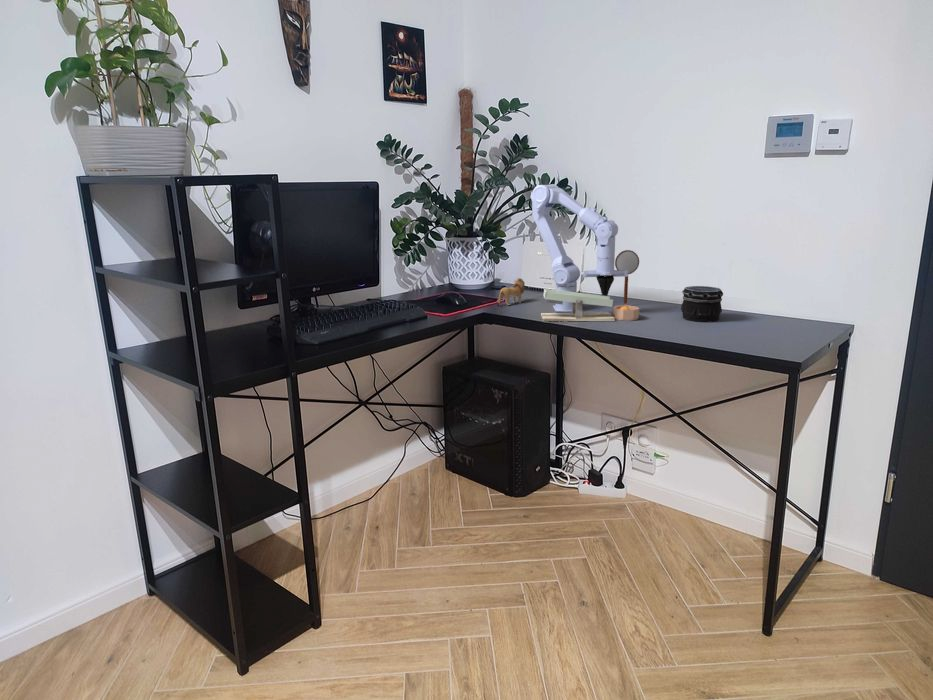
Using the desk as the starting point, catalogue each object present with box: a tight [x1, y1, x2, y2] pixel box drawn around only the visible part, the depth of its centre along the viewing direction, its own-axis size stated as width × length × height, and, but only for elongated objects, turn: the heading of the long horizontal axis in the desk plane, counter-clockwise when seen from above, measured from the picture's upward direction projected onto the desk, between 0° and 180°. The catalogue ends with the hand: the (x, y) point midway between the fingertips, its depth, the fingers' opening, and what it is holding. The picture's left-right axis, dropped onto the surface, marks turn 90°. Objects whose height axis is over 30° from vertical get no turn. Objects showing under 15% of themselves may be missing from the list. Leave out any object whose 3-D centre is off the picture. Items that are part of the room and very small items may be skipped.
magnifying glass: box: [614, 249, 640, 305], centre depth 236 cm, size 9×2×20 cm, turn 93°
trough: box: [542, 288, 614, 308], centre depth 221 cm, size 12×23×4 cm, turn 88°
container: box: [680, 285, 724, 323], centre depth 215 cm, size 13×13×10 cm
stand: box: [540, 300, 616, 323], centre depth 218 cm, size 11×23×7 cm, turn 88°
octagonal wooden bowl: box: [612, 304, 640, 322], centre depth 218 cm, size 8×8×4 cm
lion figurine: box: [496, 278, 525, 307], centre depth 244 cm, size 15×5×9 cm, turn 140°
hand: (604, 298), depth 224 cm, fingers closed, pressing on trough
